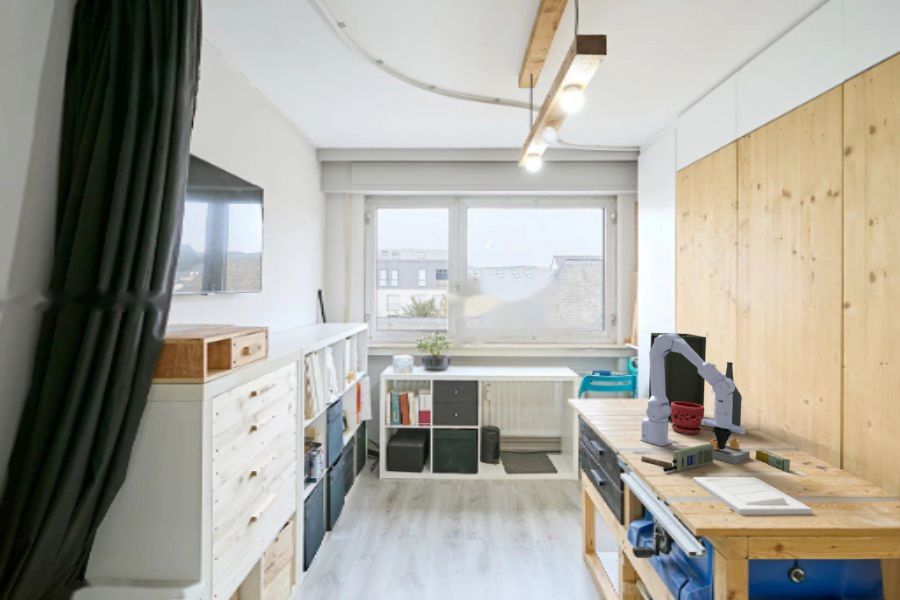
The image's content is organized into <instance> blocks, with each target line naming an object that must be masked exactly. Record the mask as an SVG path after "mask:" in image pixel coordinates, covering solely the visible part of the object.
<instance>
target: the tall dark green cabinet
mask: <svg viewBox="0 0 900 600" xmlns="http://www.w3.org/2000/svg"><path fill="white" fill-rule="evenodd" d="M661 334H671V332H665V333H664V332H650V348H649V351H650V350H651V348H652V346H653V344H654V339H655V338H657V337H658V336H659V335H661ZM676 334H678V335H679V336H680V337H681V338H682V339H684V340H685V341H686V343H687V344H688V345H689V346H690V347H691V348H692V349H693V350H694V351H695V352H696V353H697V354H698V356H699V357H700V358H701V359H702V360H703V361H704V362H706V357H707V356H706V352H707V351H706V350H707V337H706V336H702V335H696V334H692V333H676ZM664 371H665V392H666V397H667V399H668V400H669V405H670V407H671V403H672V402H688V403H694V404H699V405H702V406H704V407H705V381H706V380H705V379H704V378H703V377H702V376H701V375H700V374H699V373H698V368H697V367H696V366H695V365H694V364H693V363H692V362H690V361H689V360H688V359H687V358H686V357H685V356H684V355H682V354H681V353H678V352H673V351H670V352H669V353H668V354H667V355H665V356H664ZM648 384H649V385H648V386H649V387H648V400H649V399H650V397H651V379H650V377H649V381H648ZM688 415H689V414H688V413H686V416H688ZM692 416H693V415H692ZM668 420H669V421H668V422H673V421H672V418H671V414H670V416H669V417H668Z"/></svg>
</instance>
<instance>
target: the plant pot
mask: <svg viewBox="0 0 900 600" xmlns="http://www.w3.org/2000/svg"><path fill="white" fill-rule="evenodd" d="M686 413H688V414H689V415H688V416H686ZM692 415H693V416H692ZM704 416H705V405H704V406H702V405H699V404H694V403H688V402H672V403H671V418H672V421H671V422H672V424H671V428H672V430H674V431H676V432H678V433H681V434H683V433H684V434H687V435H697V434H700V433H701V431H702V429H701V426H702V425H701V420H702V419H704V418H705V417H704Z"/></svg>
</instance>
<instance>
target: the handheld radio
mask: <svg viewBox="0 0 900 600" xmlns="http://www.w3.org/2000/svg"><path fill="white" fill-rule="evenodd" d="M672 453H673V455H672V457H673V459H672V466H671V467H663V468H662V469H663V472H665V473H667V472H670V471H671V472H672V471H676V472H681V471H682V472H683V471H686V470H690V469H694V468H699V467H703V466H706V465H711V464H714V458H713V445H712V444H710V443H706V444H700V445H695V446H692V447H686V448H681V449H677V450H673V451H672Z"/></svg>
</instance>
